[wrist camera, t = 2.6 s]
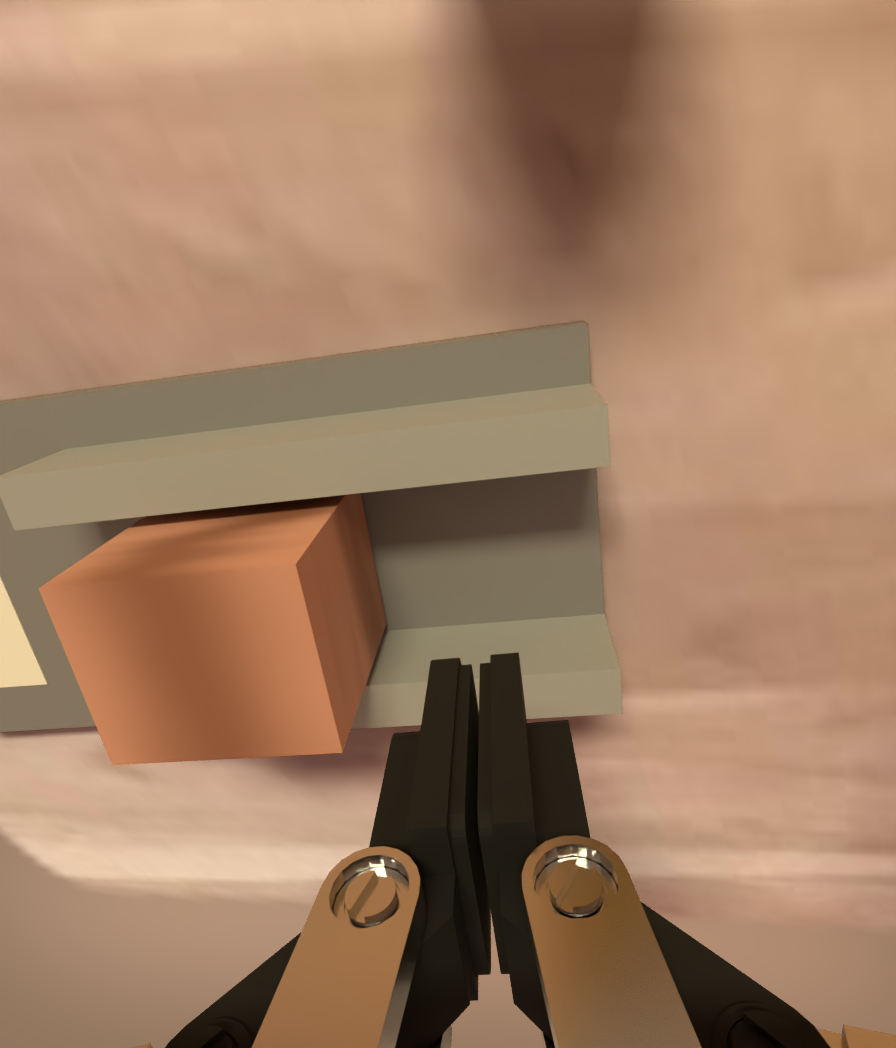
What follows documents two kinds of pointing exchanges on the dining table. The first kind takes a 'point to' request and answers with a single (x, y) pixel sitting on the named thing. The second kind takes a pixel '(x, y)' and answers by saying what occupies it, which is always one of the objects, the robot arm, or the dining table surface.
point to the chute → (340, 469)
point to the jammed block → (224, 630)
